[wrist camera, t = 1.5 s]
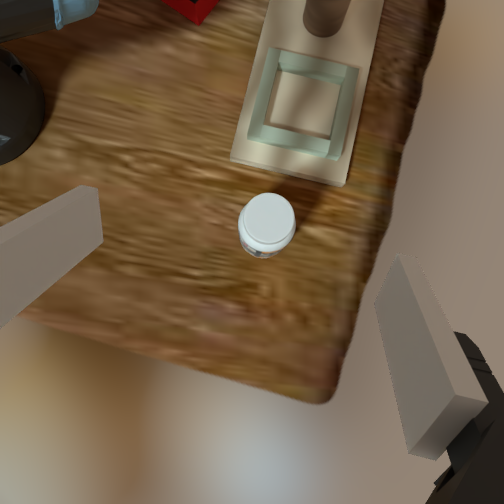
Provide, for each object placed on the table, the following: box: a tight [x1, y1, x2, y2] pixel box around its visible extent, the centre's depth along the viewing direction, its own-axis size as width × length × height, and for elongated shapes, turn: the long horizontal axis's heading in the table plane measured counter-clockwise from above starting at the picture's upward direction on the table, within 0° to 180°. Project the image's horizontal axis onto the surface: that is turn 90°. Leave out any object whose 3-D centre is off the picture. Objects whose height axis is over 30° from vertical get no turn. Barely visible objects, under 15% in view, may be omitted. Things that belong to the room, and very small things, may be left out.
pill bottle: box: [238, 193, 296, 258], centre depth 34 cm, size 6×6×10 cm
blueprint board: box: [230, 0, 384, 187], centre depth 35 cm, size 14×26×12 cm, turn 167°
